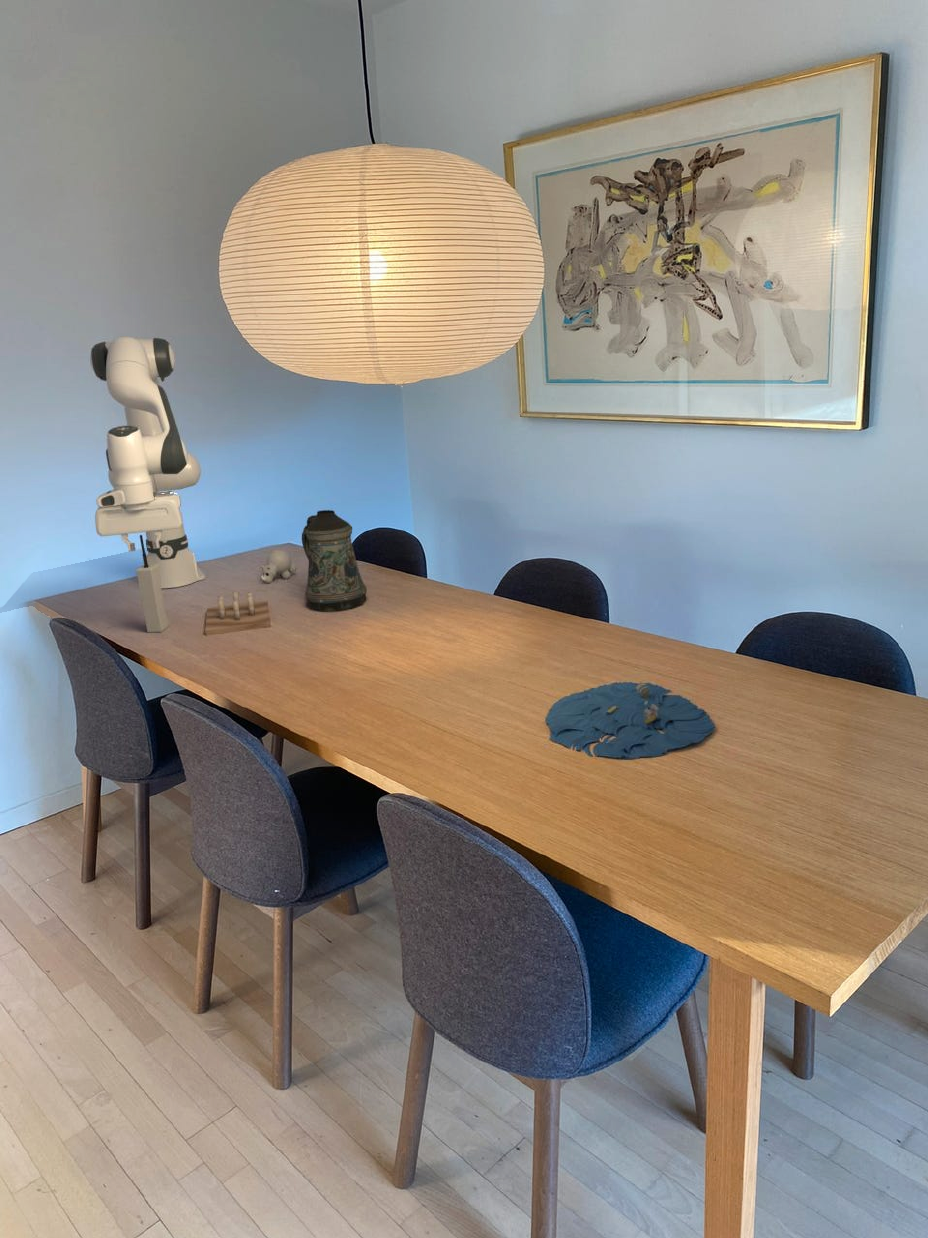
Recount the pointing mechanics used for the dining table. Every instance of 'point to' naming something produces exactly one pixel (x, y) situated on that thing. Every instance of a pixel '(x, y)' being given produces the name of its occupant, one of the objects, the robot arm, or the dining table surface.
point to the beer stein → (331, 564)
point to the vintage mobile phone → (151, 595)
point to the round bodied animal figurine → (277, 566)
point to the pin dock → (237, 615)
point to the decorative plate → (627, 720)
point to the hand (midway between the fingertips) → (144, 549)
